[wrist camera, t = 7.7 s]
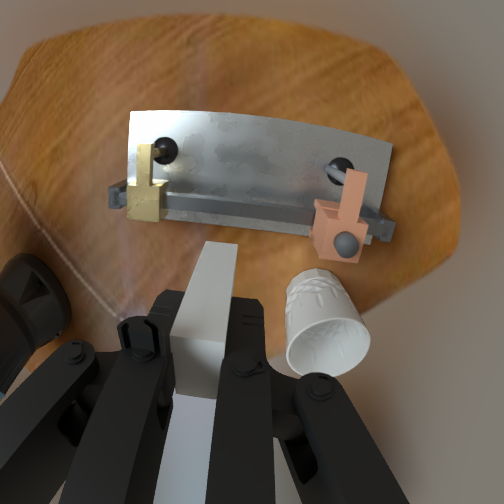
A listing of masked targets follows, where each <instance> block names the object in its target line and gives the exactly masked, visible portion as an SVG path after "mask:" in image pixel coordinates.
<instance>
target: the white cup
mask: <svg viewBox="0 0 504 504" xmlns="http://www.w3.org/2000/svg"><path fill="white" fill-rule="evenodd" d="M285 312H286V314H285V323H286V357H287V361H288V364H289V366H290V367H291V368H292V369H293V370H294V371H295V372H296V373H298V374H300V375H302V376H303V375H305V374H308V373H311V372H321V373H325V374H329V375H330V376H332V377H335V376H338V375H341V374H343V373H346V372H348V371H349V370H351V369H353V368H354V367H355V366H357V365H358V364H359V363H360V362H361V361H362V360H363V358H364V357H365V356H366V354H367V353H368V350H369V348H370V343H371V338H370V334H369V331H368V330H367V328H366V326H365V324H364V322H363V320H362V318H361V316H360V314H359V313H358V311H357V309H356V307H355V305H354V303H353V301H352V300H351V298H350V297H349V295H348V293H347V292H346V290H345V289H344V288H343V287H342V285H341V283H340V281H339V279H338V278H337V277H336V276H335V275H334V274H332V273H331V272H330V271H328V270H323V269H318V268H315V269H310V270H306V271H303V272H301V273H300V274H298V275H297V276H296V277H294V278H293V279H292V280H291V282H290V284H289V286H288V287H287V289H286V308H285Z"/></svg>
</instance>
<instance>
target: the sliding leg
mask: <svg viewBox="0 0 504 504" xmlns="http://www.w3.org/2000/svg"><path fill="white" fill-rule="evenodd" d="M325 172H326V173H327V174H329V175H331V176H332V177H334V178H335V179H337V180H338V181H340V182H341V183H342V184H344V187H343V192H342V197H341V202H340V203H338V202H332V201H326V200H320V199H315V202H314V206H315V208H316V214H315V219H314V224H313V228H309V233H308V234H309V236H310V239H311V241H312V243H313V245H314V246H315V249H316V251H317V254H318V256H319V258H320V259H326V260H335V261H343V262H351V263H358V261H359V258H360V255H361V251H362V247H363V244H364V240H365V237H366V233H367V229H368V224H367V223H366V222H365V221H364V220H363V219H362V218H361V217H360V216H359V213H360V209H361V204H362V200H363V195H364V190H365V186H366V181H367V176H368V174H367V173H365V172H363V171H359V170H354V169H349V168H347V171H346V173H344V172H342V171H340V170H338V169H336V168H334V167H332V166H330V165H328V166H326V167H325Z"/></svg>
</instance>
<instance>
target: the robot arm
mask: <svg viewBox="0 0 504 504" xmlns="http://www.w3.org/2000/svg"><path fill="white" fill-rule="evenodd" d="M237 248H238V244H229V243H220V242H211V241H206V242H205V245H204V247H203V250H202V252H201V254H200V257H199V259H198V262H197V264H196V267H195V269H194V272H193V274H192V277H191V279H190V282H189V284H188V287H187V290H186V292H181V291H174V290H167V289H166V290H165V291H164V292H162V293H161V294H160V295H158V296H157V298H156V300H155V302H154V304H153V306H152V308H151V310H150V313H149V314H148V316H134V317H129V318H127V319H125V320H123V321H122V322H121V323H120V324H119V325H118V326H117V330H118V334H119V339H120V343H121V347H122V349H121V350H120V351H115V352H95V350H94V348H93V346H92V345H91V344H90V343H88V342H86V341H83V340H71V341H68V342H66V343H64V344H63V345H61V346H60V347H59V348H58V349H57V350H56V351H55V352H53V353H52V354H51V355H50V356H49V357H48V358H47V359H46V360H45V361H44V362H43V363H42V364H41V365H40V366H39V367H38V368H37V369H36V370H35V371H34V372H33V373H32V374H31V375H30V376H29V377H28V378H27V379H26V380H25V381H24V382H23V383H22V384H21V385H20V386H19V387H18V388H17V389H16V390H15V391H14V392H13V393H12V394H11V395H10V396H9V397H8V398H7V399H6V400H5V401H4V402H3V404H2V405H1V406H0V504H49V503H50V501H51V500H52V498H53V497H54V496H55V494H56V493H57V491H58V490H59V488H60V487H61V486H62V484H63V483H64V481H65V480H66V482H65V484H64V488H63V491H62V494H61V497H60V501H59V504H153V500H154V495H155V489H156V484H157V479H158V474H159V469H160V464H161V459H162V455H163V449H164V445H165V440H166V436H167V432H168V427H169V423H170V418H171V414H172V409H173V398H172V396H173V392H174V388H175V390H176V393H177V394H182V395H188V396H194V397H202V398H209V399H217V401H216V409H215V417H214V426H213V434H212V435H213V436H212V444H211V452H210V461H209V470H208V480H207V490H206V500H205V504H276V503H275V475H274V449H273V437H275V438H278V440H279V442H280V446H281V448H282V451H283V454H284V457H285V459H286V462H287V465H288V467H289V470H290V473H291V475H292V478H293V481H294V483H295V486H296V489H297V491H298V494H299V496H300V499H301V502H302V504H409V502H408V500H407V498H406V497H405V495H404V493H403V491H402V489H401V488H400V486H399V484H398V482H397V480H396V479H395V477H394V475H393V473H392V472H391V470H390V468H389V466H388V465H387V463H386V461H385V459H384V458H383V456H382V454H381V452H380V451H379V449H378V447H377V445H376V444H375V442H374V440H373V439H372V437H371V435H370V433H369V432H368V430H367V428H366V426H365V425H364V423H363V421H362V420H361V418H360V416H359V414H358V413H357V411H356V409H355V407H354V406H353V404H352V402H351V401H350V399H349V397H348V395H347V394H346V392H345V391H344V389H343V387H342V385H341V384H340V383H339V382H338V381H337V379H335V378H334V377H332V376H330V375H329V374H325V373H321V372H311V373H308V374H305V375H303V376H302V377H301V378H300V379H296V378H292V377H289V376H286V375H283V374H281V373H279V372H277V371H276V370H274V369H273V368H272V367H271V366H270V365H269V363H268V361H267V359H266V351H265V329H264V308H263V306H262V305H261V304H260V302H259V301H258V299H249V298H239V297H232V296H233V287H234V277H235V267H236V257H237ZM70 321H71V310H70V306H69V302H68V299H67V297H66V294H65V292H64V290H63V288H62V286H61V285H60V283H59V281H58V280H57V278H56V277H55V276H54V274H53V273H52V272H51V271H50V270H49V268H48V267H47V266H46V265H45V264H43V263H42V262H41V261H40V260H38V259H37V258H35V257H34V256H32V255H29V254H24V253H22V254H18V255H16V256H15V257H13V258H12V259H11V260H9V261H8V262H7V263H6V265H5V266H4V268H3V270H2V271H1V273H0V401H1V399H2V398H3V397H5V396H6V392H7V391H8V389H9V388H10V386H11V385H12V383H13V382H14V380H15V379H16V377H17V376H18V374H19V373H20V371H21V370H22V369H23V367H24V366H25V364H26V363H27V362H28V360H29V359H30V357H31V356H32V355H33V353H34V352H35V351H36V350H37V349H39V348H40V347H42V346H44V345H46V344H47V343H49V342H51V341H52V340H53V339H56V338H58V337H60V336H61V335H62V334H63V333H64V331H65V330H66V329H67V327H68V326H69V324H70ZM66 478H67V479H66Z"/></svg>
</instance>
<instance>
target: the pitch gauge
mask: <svg viewBox="0 0 504 504" xmlns="http://www.w3.org/2000/svg"><path fill="white" fill-rule="evenodd" d="M392 145H393V144H392V143H389V142H385V141H382V140H378V139H375V138H371V137H367V136H363V135H359V134H355V133H351V132H347V131H343V130H338V129H334V128H329V127H324V126H319V125H314V124H309V123H303V122H297V121H291V120H285V119H278V118H271V117H263V116H254V115H245V114H234V113H221V112H203V111H135V112H131V117H130V130H129V147H128V179H126V180H123V181H121V182H119V183H117V184H114V185H112V186H110V187H108V200H109V208H110V209H121V208H122V207H124V206H127V219H131V220H141V221H151V222H160V221H161V220H163V219H169V220H179V221H188V222H197V223H206V224H215V225H224V226H232V227H241V228H249V229H257V230H265V231H273V232H281V233H289V234H297V235H304V236H309V234H308V233H309V228H313V224H314V219H315V214H316V208H315V206H314V202H315V199H320V200H326V201H332V202H338V203H340V202H341V197H342V192H343V187H344V184H342V183H341V182H340V181H338V180H337V179H335V178H334V177H332V176H331V175H329V174H327V173H326V172H325V167H326V166H328V165H330V166H332V167H334V168H336V169H338V170H340V171H342V172H344V173H346V171H347V168H349V169H354V170H359V171H363V172H365V173H367V174H368V176H367V181H366V186H365V190H364V195H363V200H362V204H361V209H360V213H359V216H360V217H361V218H362V219H363V220H364V221H365V222H366V223H367V224H368V229H367V233H366V237H365V240H364V244H368V245H370V244H371V240H372V236H375V237H376V238H377V239H378V240H379V241H384V242H391V239H392V236H393V232H394V228H395V225H396V222H395V221H394V220H393V219H391V218H390V217H389V216H388V215H386V214H385V213H384V212H382V211H381V210H380V205H381V201H382V196H383V192H384V187H385V183H386V178H387V173H388V168H389V162H390V157H391V151H392Z"/></svg>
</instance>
